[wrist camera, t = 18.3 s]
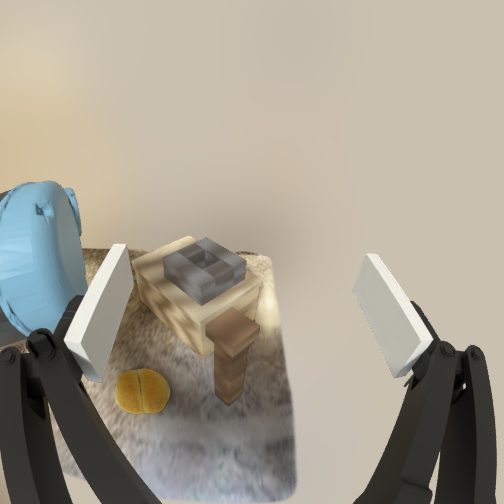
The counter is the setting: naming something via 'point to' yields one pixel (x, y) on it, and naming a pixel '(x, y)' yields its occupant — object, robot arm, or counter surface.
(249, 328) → the brown t-shaped block
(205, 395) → the counter surface
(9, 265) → the robot arm
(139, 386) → the bread roll
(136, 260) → the tan two-tone block
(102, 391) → the counter surface
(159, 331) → the counter surface
